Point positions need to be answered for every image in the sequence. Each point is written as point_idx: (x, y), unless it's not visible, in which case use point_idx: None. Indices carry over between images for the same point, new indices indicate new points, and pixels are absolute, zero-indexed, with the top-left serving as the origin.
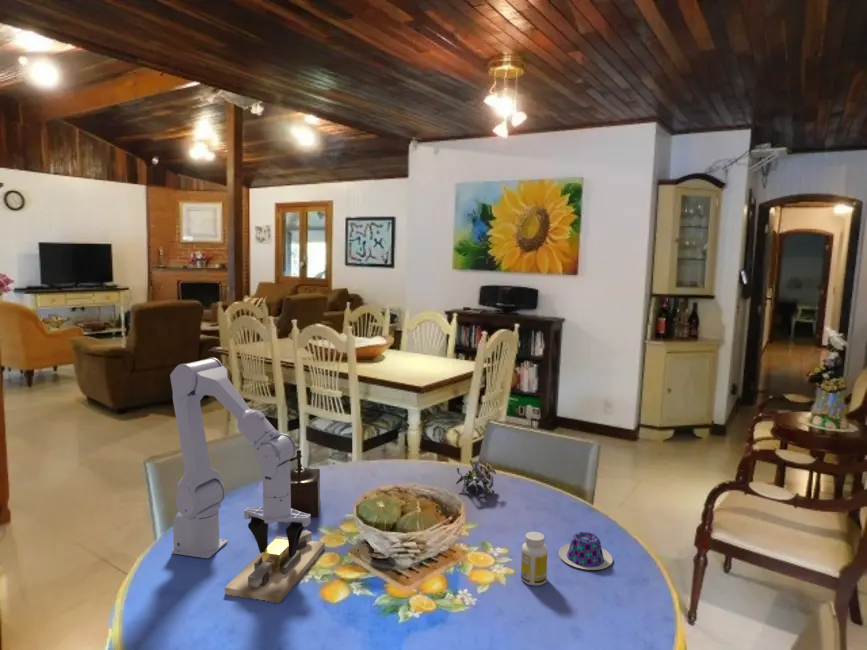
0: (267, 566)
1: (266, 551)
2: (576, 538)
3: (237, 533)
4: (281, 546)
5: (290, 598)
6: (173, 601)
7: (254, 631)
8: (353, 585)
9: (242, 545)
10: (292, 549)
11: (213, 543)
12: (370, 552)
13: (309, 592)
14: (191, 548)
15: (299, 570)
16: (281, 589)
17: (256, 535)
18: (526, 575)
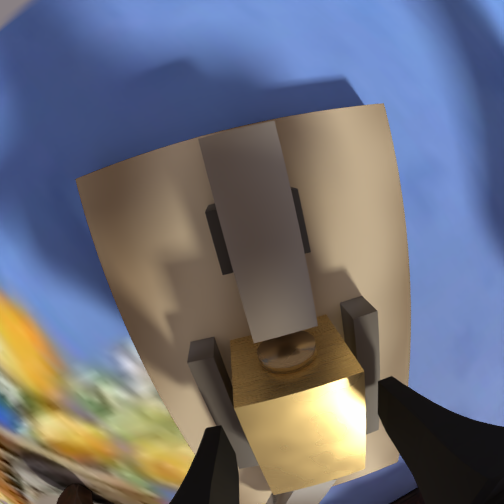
0: (245, 296)
1: (341, 391)
2: None
3: (495, 398)
4: (291, 456)
5: (80, 232)
6: (465, 32)
7: (74, 7)
8: (8, 385)
9: (472, 380)
10: (192, 463)
11: None
12: (77, 497)
13: (56, 303)
14: None
15: (163, 388)
16: (107, 229)
17: (458, 431)
18: None
